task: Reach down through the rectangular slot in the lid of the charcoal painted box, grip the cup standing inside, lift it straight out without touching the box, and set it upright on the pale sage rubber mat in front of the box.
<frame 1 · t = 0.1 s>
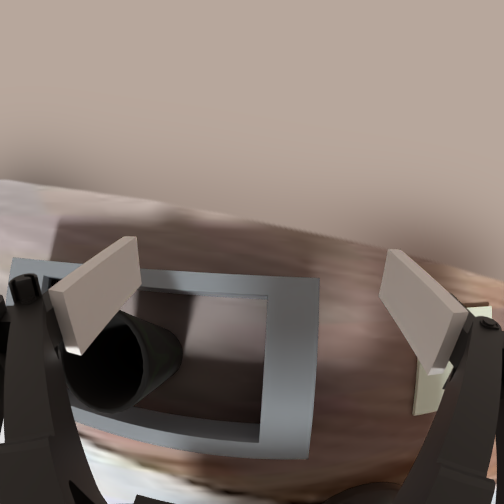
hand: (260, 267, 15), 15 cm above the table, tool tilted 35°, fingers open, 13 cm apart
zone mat: (456, 358, 26), on the table
slot box: (148, 351, 28), on the table
cup: (157, 353, 28), resting in slot box
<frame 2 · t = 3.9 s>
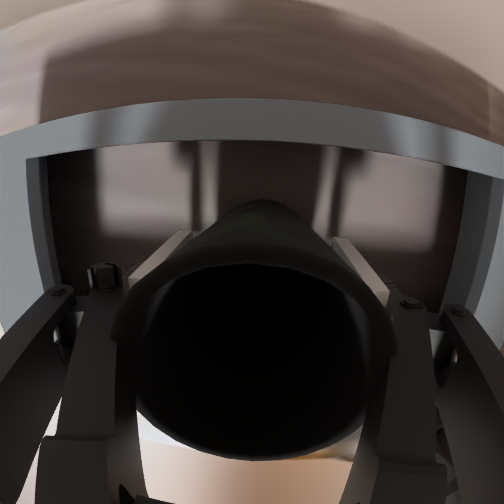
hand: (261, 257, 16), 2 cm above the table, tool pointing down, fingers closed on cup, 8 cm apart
slot box: (246, 244, 18), on the table
cup: (262, 243, 18), resting in slot box, touching gripper
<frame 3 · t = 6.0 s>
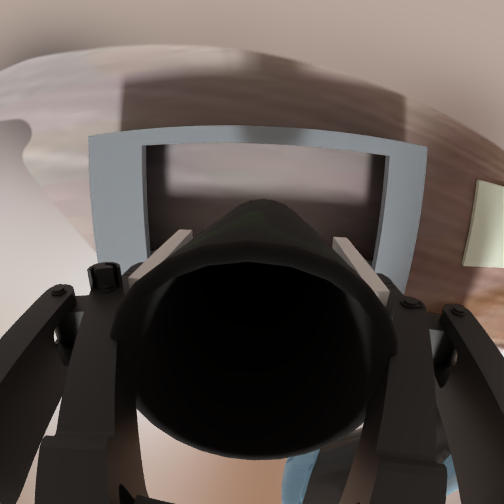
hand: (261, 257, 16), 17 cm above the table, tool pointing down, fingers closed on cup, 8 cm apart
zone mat: (496, 226, 31), on the table
slot box: (255, 199, 32), on the table
cup: (262, 243, 18), point 15 cm above the table, touching gripper
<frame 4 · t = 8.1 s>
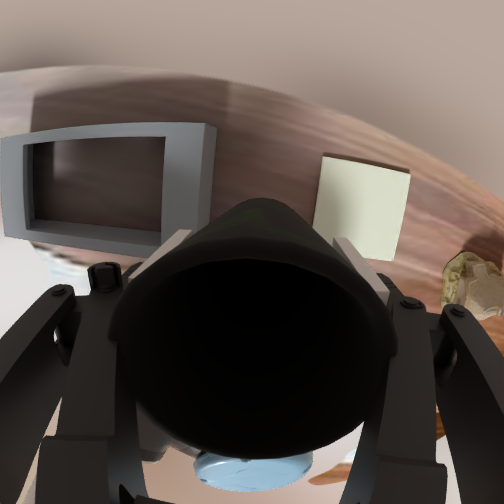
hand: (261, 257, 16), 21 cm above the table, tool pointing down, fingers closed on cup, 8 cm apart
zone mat: (360, 210, 36), on the table
slot box: (102, 181, 36), on the table
ceramic model: (469, 282, 38), on the table
cup: (262, 242, 18), point 19 cm above the table, touching gripper
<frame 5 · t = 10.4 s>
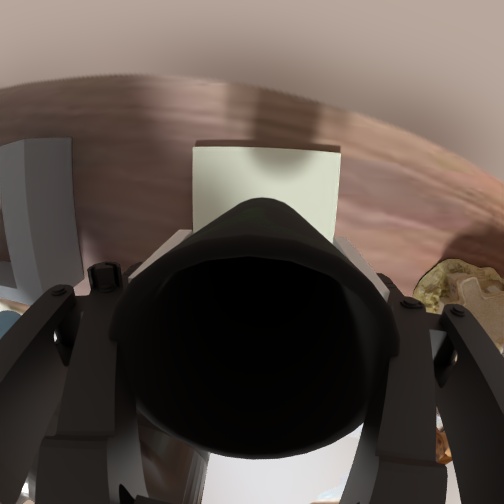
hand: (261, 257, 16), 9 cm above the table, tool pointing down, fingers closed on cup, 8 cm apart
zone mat: (264, 218, 25), on the table
lion figurine: (430, 424, 34), on the table
ceramic model: (458, 300, 27), on the table
cup: (262, 241, 18), point 7 cm above the table, touching gripper
when the fingers open (4 cm above the table, at t = 12.3 s): cup drops 1 cm, resting on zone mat.
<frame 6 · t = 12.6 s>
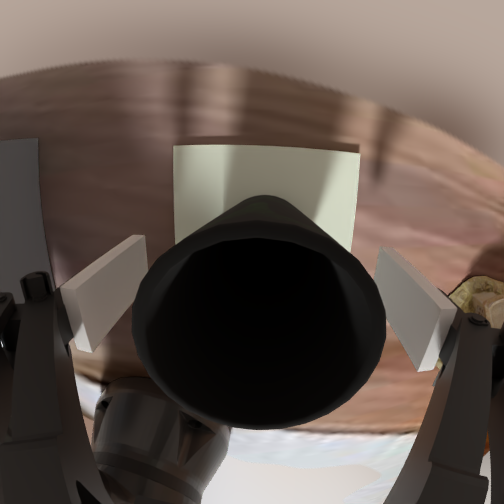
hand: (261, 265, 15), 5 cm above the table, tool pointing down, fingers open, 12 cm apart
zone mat: (263, 235, 20), on the table
ceramic model: (481, 320, 22), on the table
cup: (264, 235, 20), resting on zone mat
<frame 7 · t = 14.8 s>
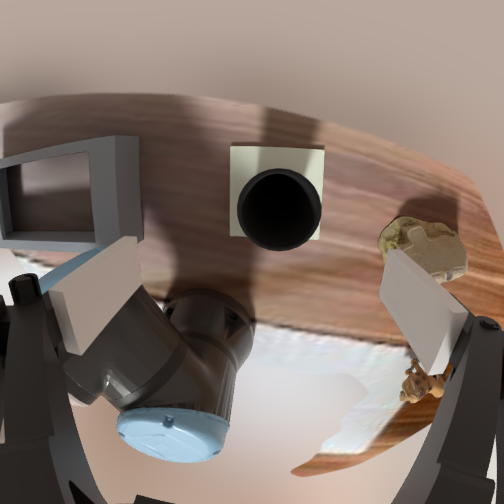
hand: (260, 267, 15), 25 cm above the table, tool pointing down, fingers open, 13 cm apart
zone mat: (276, 192, 38), on the table
lion figurine: (417, 370, 47), on the table
slot box: (58, 193, 40), on the table
ceramic model: (417, 249, 40), on the table
cup: (276, 192, 38), resting on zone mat
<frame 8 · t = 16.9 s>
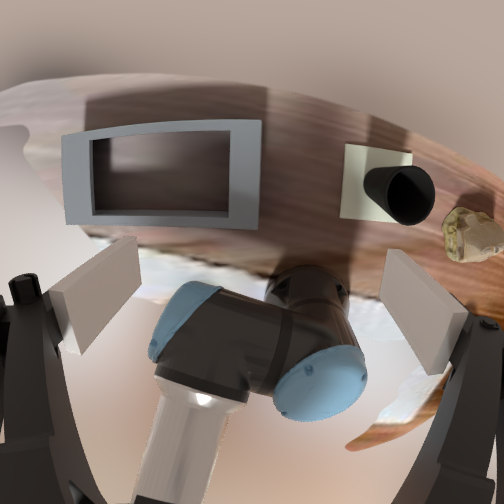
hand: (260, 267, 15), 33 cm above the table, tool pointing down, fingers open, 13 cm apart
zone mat: (376, 184, 44), on the table
slot box: (162, 171, 45), on the table
ceramic model: (467, 232, 46), on the table
cup: (378, 184, 44), resting on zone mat
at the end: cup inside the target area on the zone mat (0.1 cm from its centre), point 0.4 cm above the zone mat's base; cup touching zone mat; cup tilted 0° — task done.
